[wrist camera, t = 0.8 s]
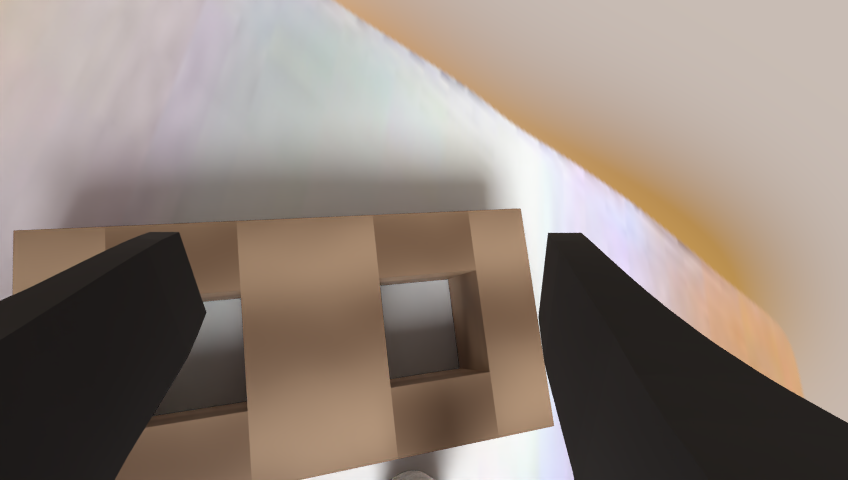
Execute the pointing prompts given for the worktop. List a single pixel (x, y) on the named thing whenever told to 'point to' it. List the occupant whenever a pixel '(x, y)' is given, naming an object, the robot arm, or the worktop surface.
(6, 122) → the worktop surface
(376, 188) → the worktop surface
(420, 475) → the steel peg
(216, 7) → the worktop surface
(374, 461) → the hole block
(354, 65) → the worktop surface
